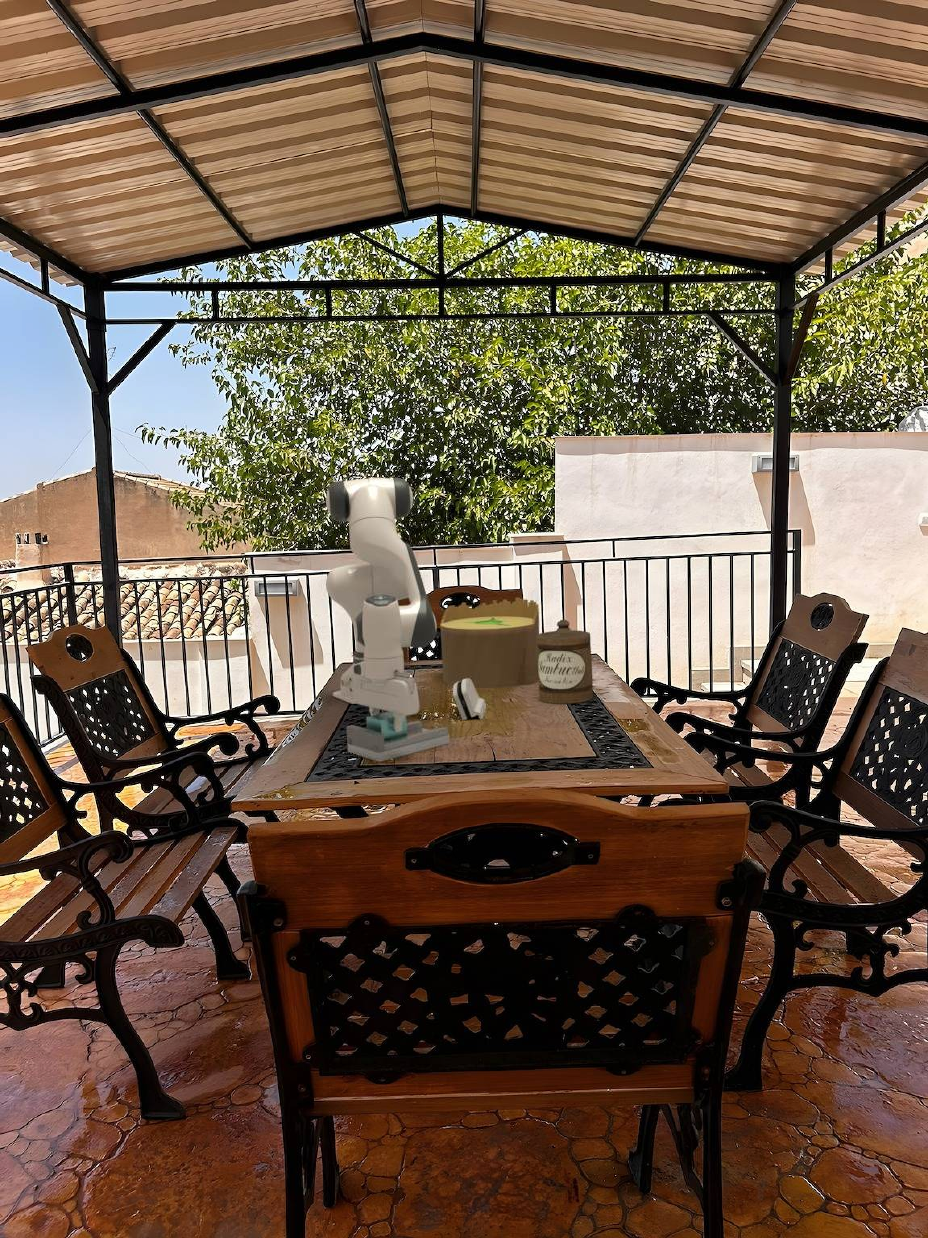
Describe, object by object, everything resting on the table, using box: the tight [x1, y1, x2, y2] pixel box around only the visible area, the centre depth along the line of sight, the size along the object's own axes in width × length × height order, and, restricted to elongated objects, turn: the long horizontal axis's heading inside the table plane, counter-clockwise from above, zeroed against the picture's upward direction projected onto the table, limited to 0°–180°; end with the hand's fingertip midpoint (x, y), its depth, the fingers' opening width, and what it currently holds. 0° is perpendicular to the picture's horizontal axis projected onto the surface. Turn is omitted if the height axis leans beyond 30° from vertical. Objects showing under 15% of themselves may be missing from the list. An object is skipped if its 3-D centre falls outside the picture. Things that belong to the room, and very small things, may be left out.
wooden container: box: [537, 619, 594, 705], centre depth 248 cm, size 15×15×22 cm
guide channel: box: [345, 720, 451, 763], centre depth 204 cm, size 12×20×6 cm, turn 131°
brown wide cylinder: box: [439, 597, 540, 689], centre depth 282 cm, size 32×35×24 cm
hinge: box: [452, 678, 487, 721], centre depth 237 cm, size 17×5×10 cm, turn 174°
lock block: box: [366, 711, 407, 742], centre depth 202 cm, size 6×8×5 cm
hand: (387, 728), depth 202 cm, fingers closed on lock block, 5 cm apart
